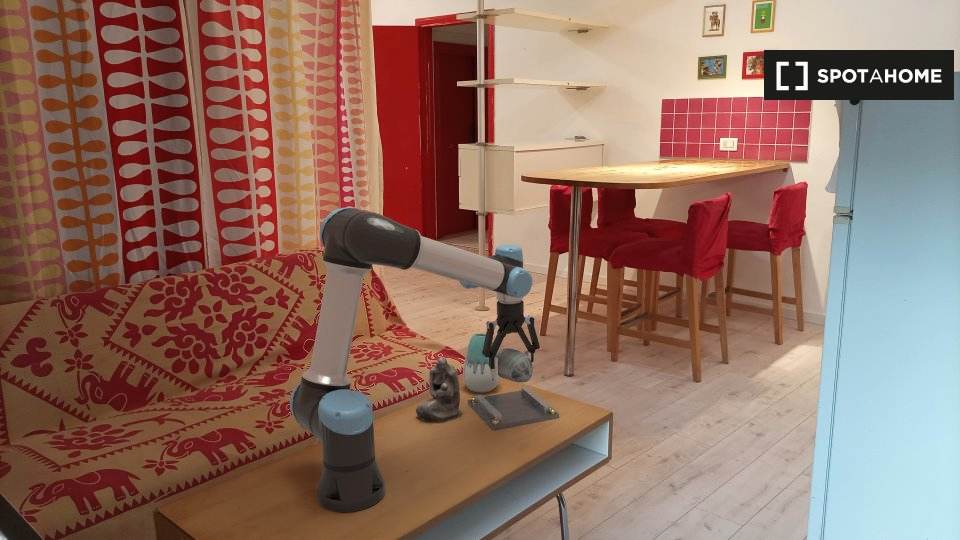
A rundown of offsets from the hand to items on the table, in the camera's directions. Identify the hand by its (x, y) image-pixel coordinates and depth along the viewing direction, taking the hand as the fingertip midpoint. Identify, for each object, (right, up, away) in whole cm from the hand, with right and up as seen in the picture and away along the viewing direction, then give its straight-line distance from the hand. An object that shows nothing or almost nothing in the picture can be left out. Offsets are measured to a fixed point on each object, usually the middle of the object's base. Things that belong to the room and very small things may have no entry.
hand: (511, 376), depth 206 cm
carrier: (0, -10, +2) cm, 10 cm away
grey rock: (0, -1, 0) cm, 1 cm away
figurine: (-20, -12, 0) cm, 23 cm away
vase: (-8, -7, +19) cm, 22 cm away
